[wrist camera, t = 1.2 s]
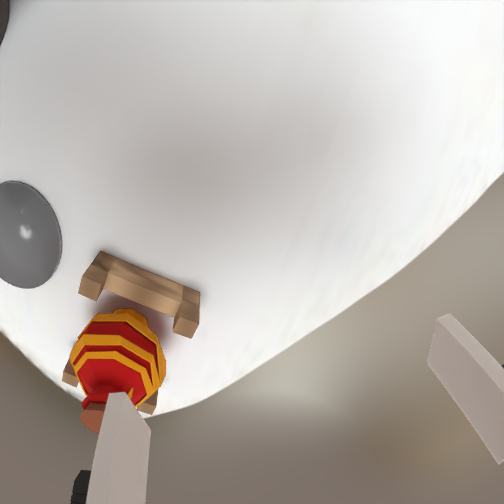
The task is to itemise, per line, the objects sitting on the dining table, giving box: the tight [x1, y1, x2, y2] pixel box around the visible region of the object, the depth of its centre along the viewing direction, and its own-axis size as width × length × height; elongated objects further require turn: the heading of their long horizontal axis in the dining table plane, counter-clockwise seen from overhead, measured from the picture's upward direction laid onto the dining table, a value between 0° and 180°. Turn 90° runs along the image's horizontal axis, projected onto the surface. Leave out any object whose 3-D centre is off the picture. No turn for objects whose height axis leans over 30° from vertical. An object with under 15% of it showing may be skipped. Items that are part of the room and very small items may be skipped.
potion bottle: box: [70, 308, 166, 434], centre depth 29 cm, size 10×10×15 cm
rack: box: [62, 251, 200, 415], centre depth 33 cm, size 12×16×6 cm
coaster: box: [0, 182, 62, 289], centre depth 29 cm, size 13×13×1 cm
